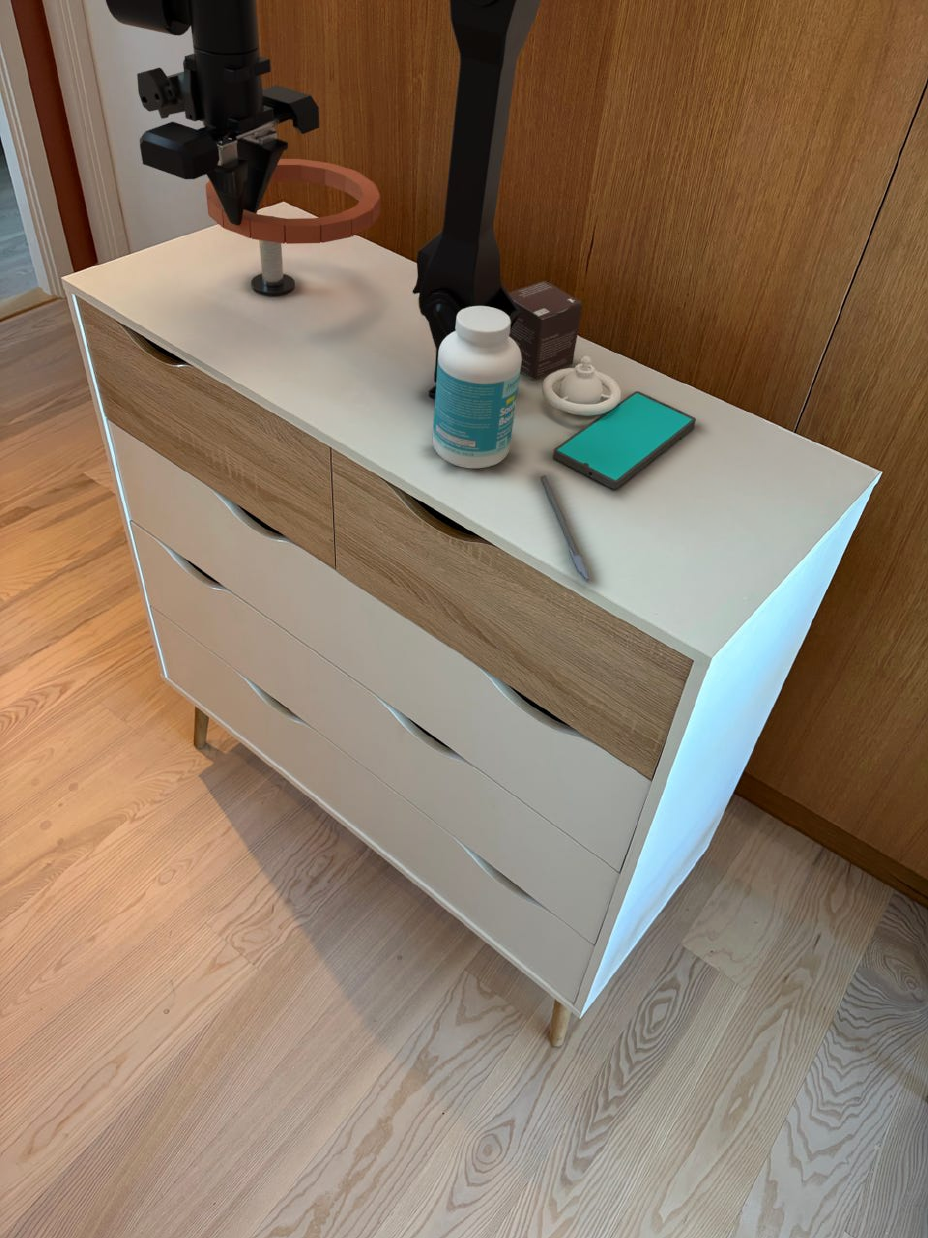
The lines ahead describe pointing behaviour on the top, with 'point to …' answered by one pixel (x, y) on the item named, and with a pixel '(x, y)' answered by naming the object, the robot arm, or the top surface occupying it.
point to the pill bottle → (476, 389)
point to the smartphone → (624, 439)
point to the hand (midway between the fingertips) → (242, 220)
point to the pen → (566, 530)
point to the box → (545, 328)
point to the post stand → (272, 272)
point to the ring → (307, 227)
